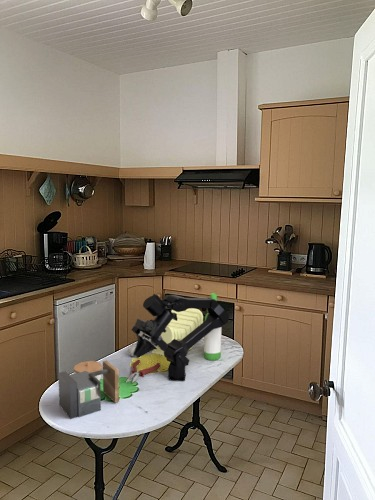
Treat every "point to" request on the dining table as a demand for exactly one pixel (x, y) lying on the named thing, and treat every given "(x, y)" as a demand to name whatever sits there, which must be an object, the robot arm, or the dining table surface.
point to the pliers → (141, 371)
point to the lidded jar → (88, 367)
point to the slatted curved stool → (181, 326)
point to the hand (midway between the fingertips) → (135, 356)
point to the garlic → (131, 350)
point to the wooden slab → (108, 381)
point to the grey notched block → (78, 394)
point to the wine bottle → (212, 340)
